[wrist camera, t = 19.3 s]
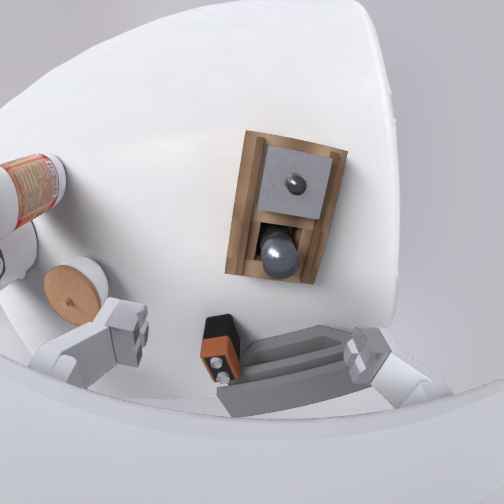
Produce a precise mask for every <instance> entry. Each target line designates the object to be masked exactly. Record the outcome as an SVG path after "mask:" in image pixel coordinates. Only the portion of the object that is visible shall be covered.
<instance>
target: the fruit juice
mask: <svg viewBox="0 0 504 504" xmlns="http://www.w3.org/2000/svg"><path fill="white" fill-rule="evenodd" d="M65 189H66V174H65V170H64V167H63V165H62V163H61V161H60V160H59V159H58V158H57V157H56V156H55V155H53V154H51V153H46V152H45V153H38V154H34V155H30V156H27V157H23V158H19V159H16V160H13V161H9V162H6V163H3V164H0V240H1V239H2V238H4V237H6V236H8V235H9V234H10V233H12V232H13V231H15V230H16V229H18V228H20V227H21V226H23V225H24V224H26V223H28V222H29V221H31V220H33V219H34V218H36V217H38V216H39V215H41V214H43V213H44V212H46V211H48V210H50V209H51V208H53V207H55V206H56V205H57V204H58V203H59V202H60V201H61V199H62V197H63V195H64V193H65Z"/></svg>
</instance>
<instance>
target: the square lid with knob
mask: <svg viewBox="0 0 504 504" xmlns="http://www.w3.org/2000/svg"><path fill="white" fill-rule="evenodd" d="M332 160H333V159H331V158H329V157H326V156H322V155H317V154H313V153H308V152H303V151H299V150H294V149H289V148H283V147H278V146H272V145H266V151H265V156H264V162H263V168H262V173H261V179H260V185H259V191H258V197H257V202H256V205H257V210H263V211H269V212H276V213H282V214H288V215H294V216H300V217H306V218H312V219H318V220H319V217H320V213H321V209H322V205H323V200H324V196H325V192H326V188H327V183H328V179H329V174H330V170H331V165H332Z"/></svg>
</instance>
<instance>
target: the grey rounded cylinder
mask: <svg viewBox="0 0 504 504" xmlns="http://www.w3.org/2000/svg"><path fill="white" fill-rule="evenodd" d="M259 239H260V247H261V255H262V263H263V269H264V271H265V273H266V274H267V275H268V276H269V277H271V278H273V279H278V280H283V279H287V278H289V277H291V276H293V275H294V274H295V273H296V271H297V270H298V268H299V264H300V260H299V256H298V254H297V251H296V249H295V246H294V244H293V241H292V239H291V236H290V234H289V231H288V229H287V226H285V225H278V224H271V223H265V222H262V223H261V224H260V229H259Z"/></svg>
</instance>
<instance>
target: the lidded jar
mask: <svg viewBox="0 0 504 504" xmlns="http://www.w3.org/2000/svg"><path fill="white" fill-rule="evenodd" d="M44 289H45V294H46V297H47V299H48V301H49V303H50V305H51V306H52V308H53V309H54V310H55V312H56V313H57V314H58V315H59V316H60V317H62V318H63V319H64V320H66V321H67V322H69V323H71V324H73V325H76V326H81V325H84V324H86V323H88V322H93V321H94V319H95V317H96V316H97V314H98V313H99V311H100V309H101V308H102V306H103V305H104V303H105V301H106V300H107V297H108V281H107V278H106V275H105V273H104V271H103V269H102V267H101V266H100V265H99V264H98V263H97V262H95V261H94V260H92V259H89V258H87V257H83V256H73V257H69V258H67V259H65V260H63V261H61V262H60V263H59V264H57V265H56V266H55V267H53V268H52V269H51V270H50V271H49V272H48V273H47V274H46V277H45V280H44Z"/></svg>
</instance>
